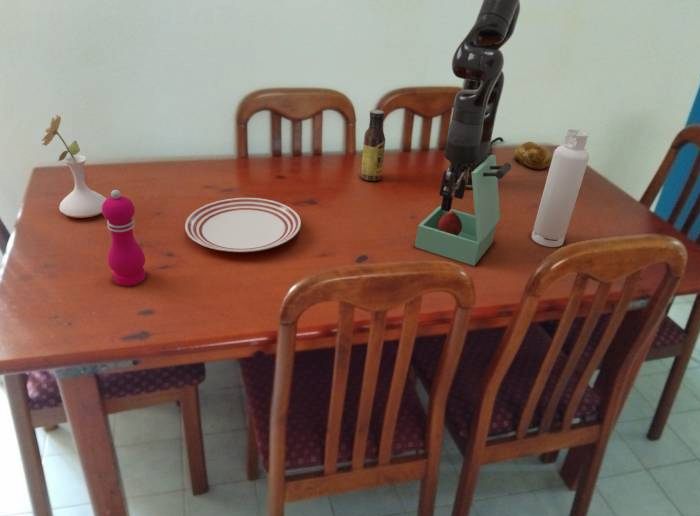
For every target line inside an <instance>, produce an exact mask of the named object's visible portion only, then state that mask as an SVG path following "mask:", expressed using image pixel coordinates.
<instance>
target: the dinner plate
mask: <svg viewBox="0 0 700 516" xmlns="http://www.w3.org/2000/svg"><path fill="white" fill-rule="evenodd" d="M301 225H302V221H301V218H300V215H299V214H298V213H297V212H296V210H294V209H293V208H292V207H290V206H288V205H286V204H283V203H281V202H279V201H275V200H272V199H271V200H270V199H266V198H260V197H259V198H258V197H235V198H227V199H221V200H216V201H214V202H211V203H207V204H205V205H203V206H201V207H199V208H197V209H196V210H194V211H193V212H192V213H190V214H189V216H188V217H187V219H186V220H185V224H184V230H185V232H186V234H187V236H188V237H189V238H190V239H191V240H192V241H193V242H195V243H196V244H198V245H200V246H202V247H205V248H209V249H212V250H216V251H222V252H229V253H255V252H262V251H266V250H270V249H273V248H277V247H279V246H281V245H283V244H285V243H287V242H289V241H290V240H292V239H293V238H294V237H295V236H296V235H297V234H298V233H299V231H300V230H301Z"/></svg>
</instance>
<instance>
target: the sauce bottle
mask: <svg viewBox="0 0 700 516" xmlns="http://www.w3.org/2000/svg"><path fill="white" fill-rule="evenodd" d="M384 117H385V112H384V111H383V110H380V109H371V110H369V124H368V126H369V127H368V128H367V129H366V131H365V133H364V136H363V144H362V157H361V168H360V170H361V171H360V177H361V178H362V179H363V180H364V181H368V182H377V181H380V180H381V179H382V174H383V167H384V158H385V157H384V155H385V149H386V148H385V146H386V135H385V133H384V128H383V127H384V126H383V124H384V123H383V122H384Z"/></svg>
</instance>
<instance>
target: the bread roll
mask: <svg viewBox="0 0 700 516" xmlns="http://www.w3.org/2000/svg"><path fill="white" fill-rule="evenodd" d="M513 157H514V158H515V160H516V161H518V162H520V164H522V165H523V166H524V167H527V168H529V169H532V170H543V169H545V168H547V167H549V166H550V165H551V161H552V153H551V151H550V150H549V148H547V147H546V146H544V145H538V144H537V143H536V142H533V141H526V142H524V143H521V144H520V146H519V147H518V148H516V149H515V150H514V153H513Z"/></svg>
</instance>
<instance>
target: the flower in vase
mask: <svg viewBox="0 0 700 516" xmlns="http://www.w3.org/2000/svg"><path fill="white" fill-rule="evenodd" d="M61 120H62V117H61V115H58V114H56V115H55V117H52V118H51V120H50V125H49V126H48V127H46V128H45V133H46V134H45V135H44V136H43V137H42V139H41V142H42V146H44V147H45V146H48V145H49V144H51V142H52V140H53V139H54V138H55V136H56V135H57V136H58V138H59V139H60V140H61V141H62V143H63V145H64V146H65V148H66V150H63V151H62V152H61V154H60V155H59V157H58V162H62V161H63V162H64V163H65V164H66V165H67V166H68V167H69V169H70V171H71V173H72V174H71V175H72V176H73V181H74V188H73V190H72V191H70V193H68V194H67V195H66V196H65V197H64V198H63V199H62V201H61V202H60V204H59V207H58V208H59V209H58V210H59V211H60V212H61V213H62V214H63V215H65V216H67V217H70V218H77V219H79V218H80V219H84V218H91V217H96V216H99V215H101V214H103V213H102V205H103V203H104V201H105V200H106V199H107V198H106V197H105V196H104V195H102V194H100V193H98V192H97V191H95V190H92V189H91V188H89V187H88V186H87V184H86V181H85V176H84V174H85V173H84V166H85V163H86V161H87V159H88V158H87V157H86V156H85V155H81V154H80V155H79V153H80V151H81V147H80V146H79V144H78V142H77V140H76V139H75V140H73V142H71V143H70V144H69V145H67V142H65V140H64V138H63V137H62V136H61V135H60V133H59V131H58V130H59V128H60V124H61V122H62V121H61ZM68 153H69V155H70V156H67V155H68Z"/></svg>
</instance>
